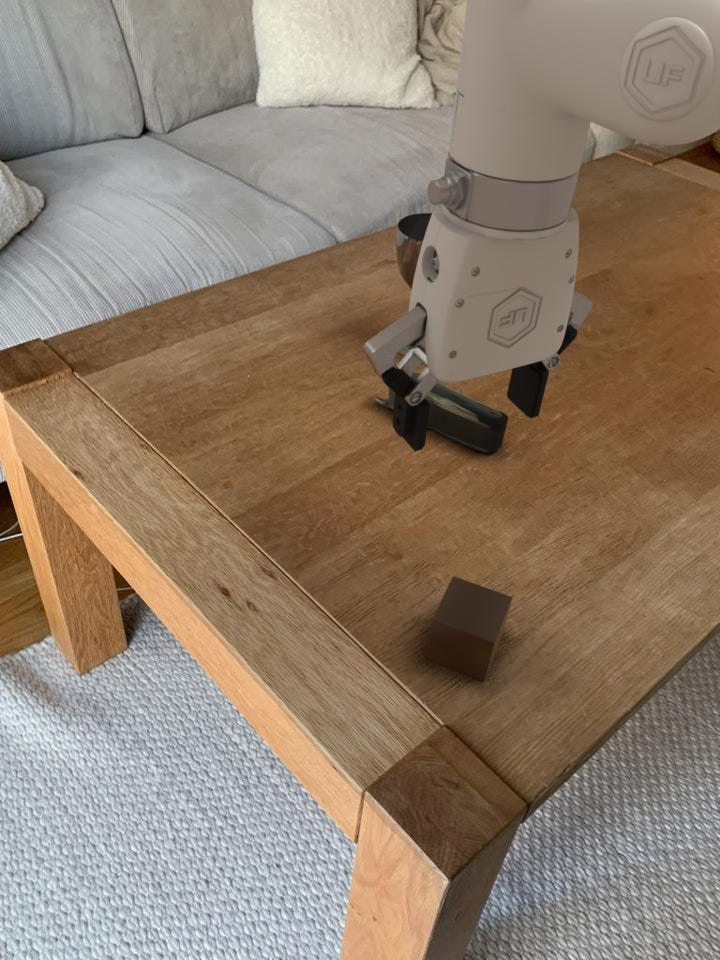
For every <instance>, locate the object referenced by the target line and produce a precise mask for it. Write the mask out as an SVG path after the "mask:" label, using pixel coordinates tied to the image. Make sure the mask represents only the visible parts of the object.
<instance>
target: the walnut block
mask: <svg viewBox="0 0 720 960" xmlns="http://www.w3.org/2000/svg"><path fill="white" fill-rule="evenodd" d="M512 601H513V596H510V595H507V594H505V593H502V592H500V591H497V590H493V589H490V588H487V587H485V586H482V585H480V584H476V583H474V582H471V581H469V580H465V579H462V578H460V577H456V576H454V575H453V576H452V577H451V579H450V581H449V583H448V585H447V588H446V590H445V592H444V593H443V596H442V598H441V599H440V602H439V604H438V606H437V609H436V611H435V613H434V615H433V616H432V619H431V624H430V630H429V635H428V641H427V646H426V651H425V657H424V659H425V660H427V661H429V662H432V663H434V664H437V665H439V666H442V667H445V668H447V669H450V670H453V671H455V672H458V673H461V674H462V675H465V676H468V677H471V678H473V679H476V680H478V681H481V682H484V683H485V682H486V679H487V677H488V674H489V671H490V669H491V666H492V664H493V662H494V661H493V660H494V659H495V656H496V654H497V651H498V648H499V645H500V643H501V640H502V638H503V635H504V630H505V627H506V623H507V620H508V615H509V612H510V609H511V605H512Z"/></svg>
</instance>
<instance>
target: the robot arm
mask: <svg viewBox="0 0 720 960" xmlns="http://www.w3.org/2000/svg"><path fill="white" fill-rule="evenodd" d="M456 78H457V79H456V88H455V93H454V94H455V96H454V101H453V102H454V103H453V111H452V119H451V120H452V121H451V127H450V134H449V143H448V151H447V158H446V159H445V167H444V172H443V173H444V174H443V176H441V177H440V178H439V179H432V180H431V181H429V182H428V184H427V197H428V200H429V202H430V203H431V204H432V205H433V206H437V207H434V208H433V210H432V215H431V218H430V221H429V224H428V227H427V230H426V233H425V236H424V240H423V243H422V246H421V250H420V254H419V258H418V262H417V266H416V271H415V275H414V280H413V286H412V290H411V292H410V297H409V305H408V311H407V313H405V314H404V315H402V316H401V317H399V318H397V319H396V320H395V321H394V322H392V323H391V324H389V325H388V326H386V327H385V328H384V329H382V330H380V331H379V332H378V333H376V334H375V335H374V336H372V337H371V338H369V339H368V340H367V341H365V343H364V344H363V347H362V349H363V352H364V354H365V356H366V358H367V360H368V361H369V363H370V365H371V367H372V369H373V372H374V374H375V375H377V377H378V378H379V379H380V380H381V381H382V382H383V383H384V385H386V387H387V388H388V389H389V388H390V389H391V390H393V391H394V392H395V399H394V409H392V419H391V423H392V427H393V430H394V432H395V433H396V434H397V435H398V437H400V438H402V439H403V440H404V441H405V443H406V444H407V445H408V446H409V447H410V448H411V449H412V450H413V451H414V452H418V451H421V450H423V449H424V447H425V446H426V441H427V433H428V427H427V426H428V419H429V412H430V404H429V402H428V401H427V400H426V399H425V397H426V396H427V394H428V393H429V392H430V391H431V390H432V388H433V387H434V386H435V385H436V384H437V382H438V381H439V382H441V383H448V384H452V383H453V384H454V383H459V382H465V381H468V380H473V379H477V378H481V377H486V376H488V375H493V374H497V373H501V372H504V371H509V370H511V373H510V378H509V382H508V383H509V384H508V386H507V387H508V388H507V393H506V397H507V399H508V400H509V401H510V402H511V403H512V404H513V405H514V406H515V407H517V409H519V410H520V411H521V412H522V413H523V414H524V416H526V417H528V418H529V419H533V418H537V417H539V415H540V412H541V408H542V404H543V399H544V397H545V396H544V395H545V391H546V387H547V383H548V379H549V376H550V371H553V370H555V369H556V368H557V367H558V366H559V364H560V362H561V356H560V355H562V353H563V352H564V351H565V350H566V349H567V348H569V346H570V345H571V344H572V343H573V342H574V340H576V338H577V335H578V330H577V329H578V328H580V327H581V326H582V325H583V323H584V322H585V320H586V319H587V317H588V315H589V314H590V313H591V311H592V310H593V308H594V301H592V300H591V299H589V298H588V297H587V296H585V295H584V294H582V292H579V291H576V290H575V285H576V278H577V270H578V260H579V249H580V248H579V247H580V245H579V244H580V223H579V221H580V220H579V214H578V211H576V209H574V208H573V207H572V205H573V201H574V197H575V193H576V192H575V191H576V189H577V184H578V180H579V175H580V171H581V165H582V161H583V157H584V153H585V148H586V144H587V141H588V136H589V131H590V126H591V123H593V124H595V125H596V126H597V125H598V126H600V127H602V128H605V129H607V130H609V131H611V132H614V133H616V134H618V135H621V136H624V137H627V138H629V139H632V140H635V141H638V142H641V143H647V144H650V145H656V146H678V145H686V144H691V143H695V142H697V141H700V140H702V139H704V138H707V137H709V136H711V135H712V134H714V133H716V132H717V131H719V130H720V0H466V6H465V14H464V24H463V30H462V38H461V48H460V56H459V64H458V70H457V77H456ZM439 205H440V206H439ZM405 347H408V349H409V351H408V352H407V353H406V355H403V357H402V358H401V360H399V362H398V363H396V361H395V358H396V356H397V355H398V354H399V352H400V351H401V350H402V349H404V348H405ZM422 364H423V365H424V366H426V367H425V368H424V369H423V370H422V372H420V373H421V374H420V375H419V377H418V378H417V379H416V380H415V381H414V380H413V379H412V378H411V376H412V375H413V374H414V373H416V371H418V369H419V367H421V366H422Z"/></svg>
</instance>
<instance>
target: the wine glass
mask: <svg viewBox="0 0 720 960" xmlns="http://www.w3.org/2000/svg"><path fill="white" fill-rule="evenodd" d="M432 213H433V212H432ZM432 213H431V212H421V213H413V214H409V215H407V216H404V217H402V218H401V219H400V220H399V221H398V223H397V228H396V239H395V253H396V254H395V255H396V262H397V268H398V271H399V274H400V276H401V278H402V280H403V282H405V284H406V285H407V286H408V287H409V289H410V290H411V291H412V286H413V280H414V275H415V271H416V266H417V262H418V258H419V254H420V250H421V246H422V243H423V240H424V236H425V233H426V230H427V227H428V224H429V221H430V218H431V215H432ZM408 351H409V349H408V347H405V348H404V349H402V350H401V351H400V352H398V354H401V355H402V356H405V355H406V353H407V352H408Z"/></svg>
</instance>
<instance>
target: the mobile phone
mask: <svg viewBox="0 0 720 960" xmlns="http://www.w3.org/2000/svg"><path fill="white" fill-rule="evenodd" d="M421 373H422V372H414V374H413V375H412V376H411V378H412V379H413V380H414V381H415V380H416V379H417V378H418V377H419V375H420V374H421ZM394 399H395V392H394V391H393V390H391V389H390V388H389V387H388V398H387V399H384V398H382V397H379V396H377V397H375V399H374V403H377V404H379V405H381V406H383V407H385V408H388V409H391V410H393V409H394ZM425 399H426V400H427V401H428V402H429V404H430V412H429V419H428V426H427V428H429V429H432V430H434V431H436V432H438V433H440V434H442V435H443V436H445V437H446V438H449V439H450V440H453V441H455V442H457V443H459V444H460V445H463V446H465V447H467V448H469V449H471V450H473V451H476V452H479V453H482V454H493V453H495V452H497V451H499V450H500V449H501V448H502V446H503V442H504V437H505V434H506V431H507V430H506V429H507V425H508V422H509V415H507V414H506V413H505V412H503V411H501V410H498V409H496V408H493V407H491V406H490V405H487V404H485V403H483V402H480V401H479V400H477V399H475V398H473V397H471V396H469V395H466V394H465V393H462V392H460V391H457V390H455V389H453V388H452V387H450V386H448V385H446V384H445V383H444V382H442V381H440V380H439V381H438V382H437V384H436V385H435V386H434V387H433V388H432V390H431V391H430V392H429V393H428V394H427V396H426V397H425Z"/></svg>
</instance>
